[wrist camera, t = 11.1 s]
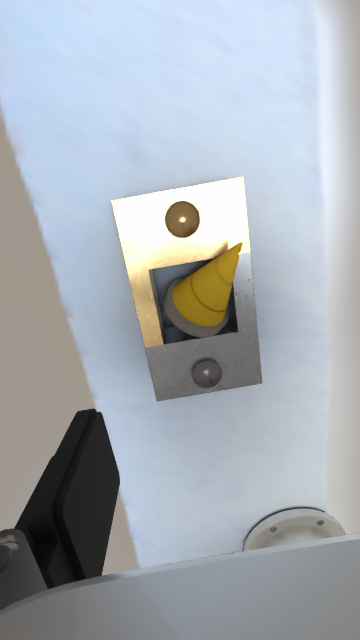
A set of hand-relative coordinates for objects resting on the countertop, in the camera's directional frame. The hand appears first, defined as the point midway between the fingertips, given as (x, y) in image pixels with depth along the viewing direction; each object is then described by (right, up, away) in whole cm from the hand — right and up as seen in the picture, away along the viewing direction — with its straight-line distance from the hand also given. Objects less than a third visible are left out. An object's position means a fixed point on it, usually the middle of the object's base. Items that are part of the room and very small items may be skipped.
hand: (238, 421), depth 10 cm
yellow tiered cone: (0, +6, +16) cm, 17 cm away
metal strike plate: (-1, +6, +16) cm, 17 cm away
